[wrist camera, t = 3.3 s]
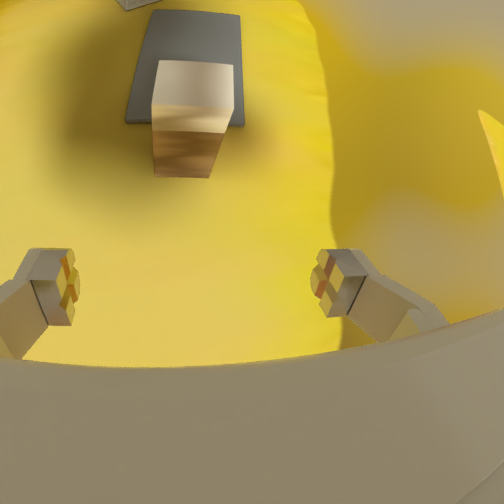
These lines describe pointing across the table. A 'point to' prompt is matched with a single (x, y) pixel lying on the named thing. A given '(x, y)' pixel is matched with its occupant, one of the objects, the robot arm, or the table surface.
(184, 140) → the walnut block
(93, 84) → the table surface
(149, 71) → the mat
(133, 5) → the coffee box
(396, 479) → the robot arm
